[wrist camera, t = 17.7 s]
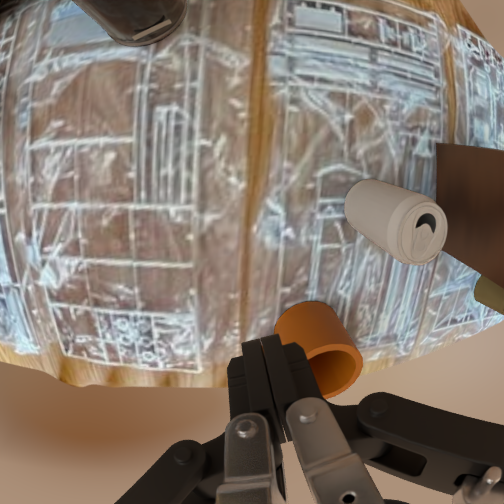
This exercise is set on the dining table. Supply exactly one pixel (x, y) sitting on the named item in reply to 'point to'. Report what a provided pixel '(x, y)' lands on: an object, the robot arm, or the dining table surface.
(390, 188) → the beverage can
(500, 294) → the pepper shaker
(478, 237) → the box
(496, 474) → the robot arm
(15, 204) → the dining table surface
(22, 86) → the dining table surface
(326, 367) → the mug
